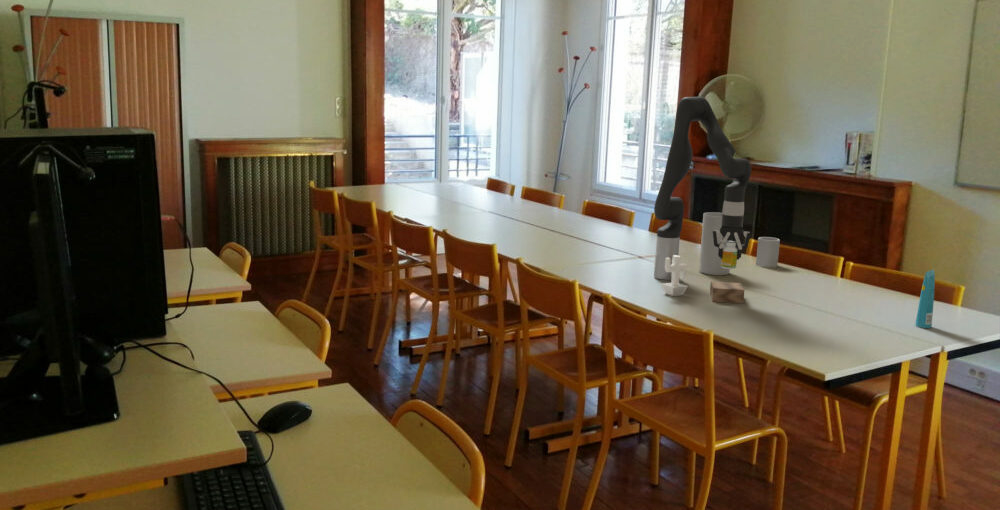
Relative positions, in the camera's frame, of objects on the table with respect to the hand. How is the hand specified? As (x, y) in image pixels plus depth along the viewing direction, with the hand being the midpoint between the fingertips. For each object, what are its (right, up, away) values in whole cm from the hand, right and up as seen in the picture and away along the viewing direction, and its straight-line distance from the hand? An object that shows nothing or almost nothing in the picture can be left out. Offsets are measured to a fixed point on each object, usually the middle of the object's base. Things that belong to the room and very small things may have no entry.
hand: (729, 258), depth 306 cm
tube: (+58, -23, -27) cm, 68 cm away
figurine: (-19, -14, +8) cm, 25 cm away
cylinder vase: (+6, -6, +47) cm, 48 cm away
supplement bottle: (0, -4, +1) cm, 4 cm away
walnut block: (0, -15, +3) cm, 15 cm away
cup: (+34, -4, +64) cm, 73 cm away
